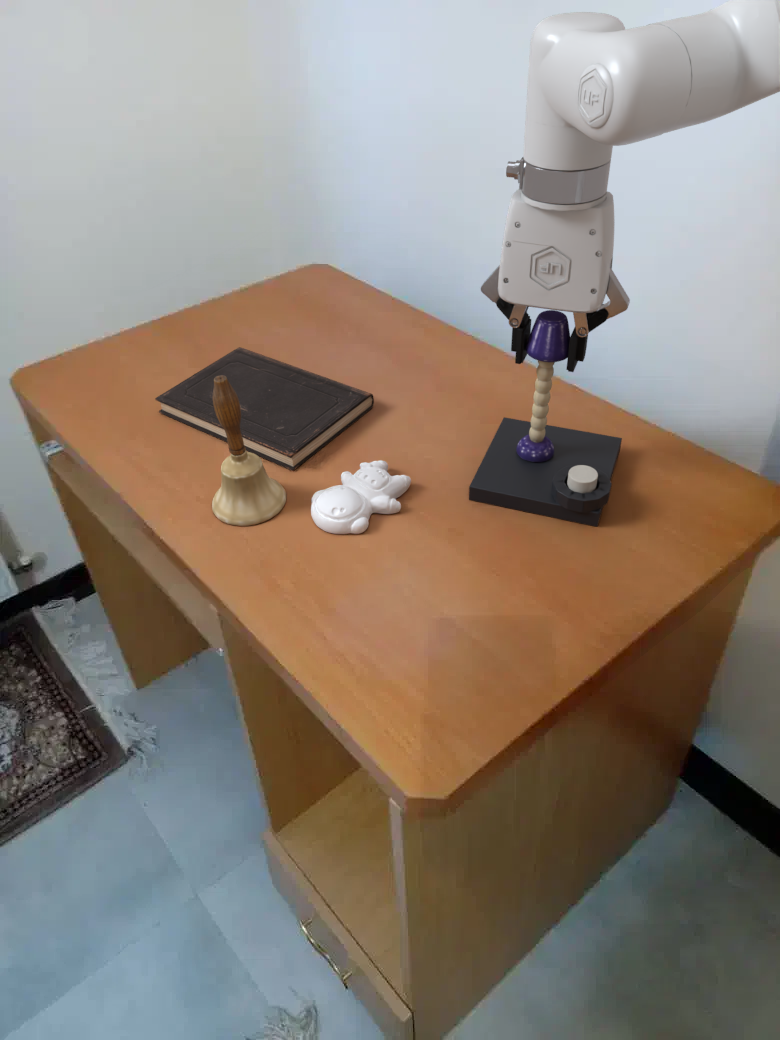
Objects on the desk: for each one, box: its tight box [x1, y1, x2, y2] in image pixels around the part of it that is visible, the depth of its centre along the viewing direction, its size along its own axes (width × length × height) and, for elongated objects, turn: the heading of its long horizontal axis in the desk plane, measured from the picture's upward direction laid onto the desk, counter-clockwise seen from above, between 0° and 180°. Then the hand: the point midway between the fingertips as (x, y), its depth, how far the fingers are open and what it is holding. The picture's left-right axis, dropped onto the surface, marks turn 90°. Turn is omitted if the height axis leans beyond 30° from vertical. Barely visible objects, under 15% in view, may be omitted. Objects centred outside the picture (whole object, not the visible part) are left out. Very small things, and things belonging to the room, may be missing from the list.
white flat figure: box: [310, 459, 412, 535], centre depth 86 cm, size 9×12×3 cm
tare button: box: [567, 465, 598, 493], centre depth 82 cm, size 3×3×2 cm
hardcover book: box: [155, 346, 375, 472], centre depth 101 cm, size 16×23×2 cm
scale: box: [468, 416, 623, 528], centre depth 88 cm, size 14×14×4 cm
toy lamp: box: [516, 309, 571, 462], centre depth 84 cm, size 5×5×17 cm
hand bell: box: [211, 375, 287, 527], centre depth 83 cm, size 8×8×16 cm
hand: (547, 359), depth 82 cm, fingers closed on toy lamp, 4 cm apart
